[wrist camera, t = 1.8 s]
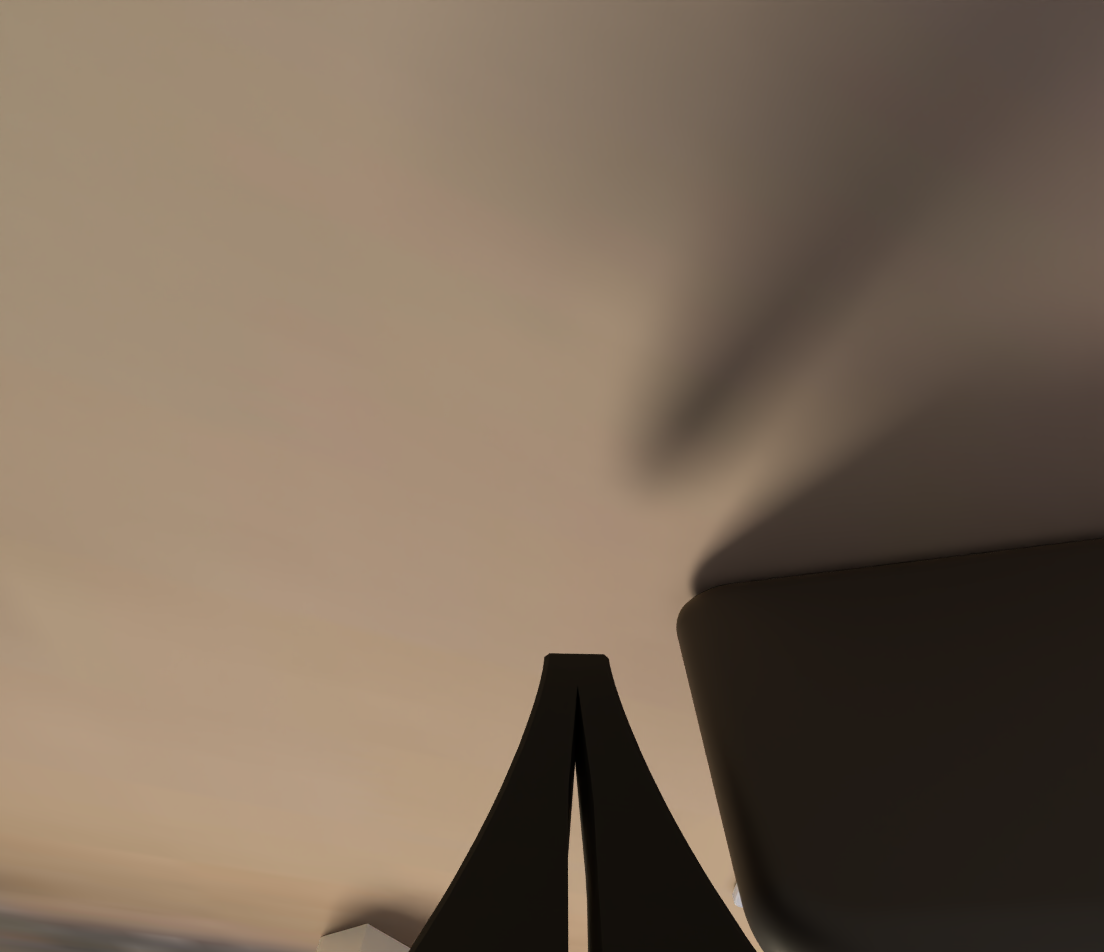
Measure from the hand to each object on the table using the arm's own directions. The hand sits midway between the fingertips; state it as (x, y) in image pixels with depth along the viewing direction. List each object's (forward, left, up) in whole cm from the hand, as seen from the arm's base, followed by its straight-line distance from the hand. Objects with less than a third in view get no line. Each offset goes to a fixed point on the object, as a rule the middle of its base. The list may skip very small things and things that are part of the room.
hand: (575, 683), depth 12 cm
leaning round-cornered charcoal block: (0, -11, -5) cm, 12 cm away
